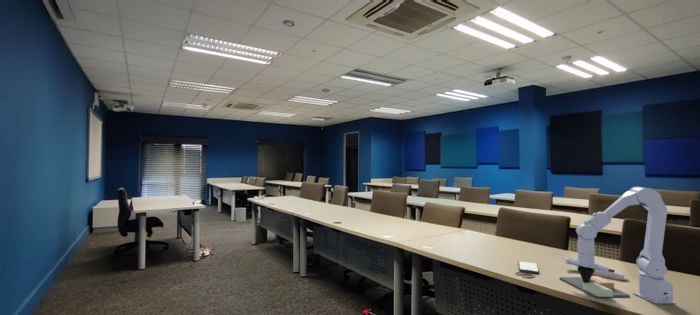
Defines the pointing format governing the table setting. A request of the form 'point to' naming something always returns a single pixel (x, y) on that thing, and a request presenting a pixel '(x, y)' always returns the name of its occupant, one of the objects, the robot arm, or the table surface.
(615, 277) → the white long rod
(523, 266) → the phone case
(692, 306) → the table surface
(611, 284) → the pink block
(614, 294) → the mat
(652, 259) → the robot arm
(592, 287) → the pale green rectangular block
